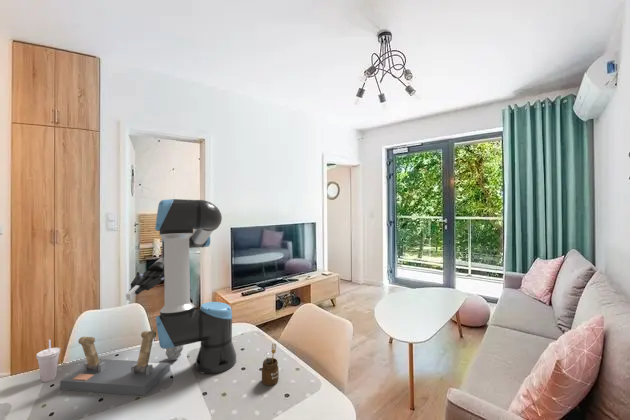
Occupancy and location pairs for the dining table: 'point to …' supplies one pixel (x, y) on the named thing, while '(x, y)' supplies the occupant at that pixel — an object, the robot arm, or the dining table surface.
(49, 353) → the smoothie
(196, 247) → the robot arm
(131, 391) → the switch unit
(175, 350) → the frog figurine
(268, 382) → the utensil holder
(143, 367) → the lever
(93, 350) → the lever
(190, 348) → the dining table surface
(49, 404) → the dining table surface
